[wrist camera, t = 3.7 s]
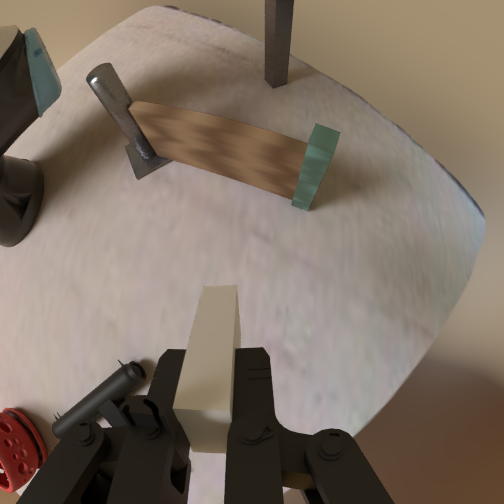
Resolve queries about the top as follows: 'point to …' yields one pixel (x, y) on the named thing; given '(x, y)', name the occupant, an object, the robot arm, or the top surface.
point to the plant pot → (18, 450)
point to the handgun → (103, 400)
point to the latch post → (277, 40)
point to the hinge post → (124, 119)
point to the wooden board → (239, 149)
